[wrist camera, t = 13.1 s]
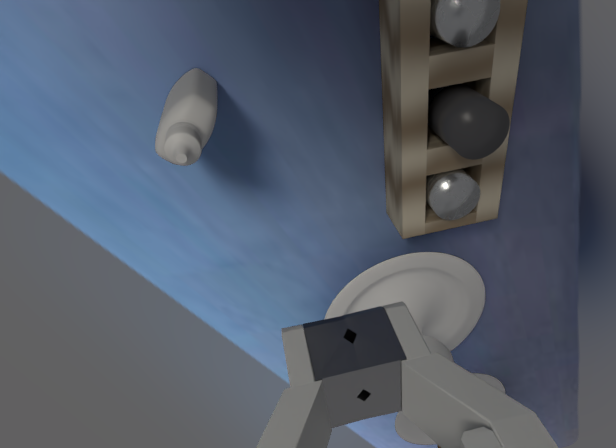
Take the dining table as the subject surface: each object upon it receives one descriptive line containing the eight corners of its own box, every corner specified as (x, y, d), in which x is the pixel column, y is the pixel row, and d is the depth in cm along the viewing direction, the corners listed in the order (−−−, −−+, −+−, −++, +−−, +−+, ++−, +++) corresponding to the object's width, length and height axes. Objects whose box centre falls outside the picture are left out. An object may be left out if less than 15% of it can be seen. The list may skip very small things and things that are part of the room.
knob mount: (377, -42, 34) (399, -38, 30) (498, -63, 35) (536, -62, 31) (386, 212, 48) (402, 239, 44) (473, 194, 48) (497, 218, 44)
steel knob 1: (414, -22, 34) (441, -16, 30) (469, -32, 35) (503, -27, 31) (414, 39, 37) (439, 52, 33) (465, 30, 37) (496, 41, 33)
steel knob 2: (413, 159, 44) (434, 183, 39) (457, 150, 44) (482, 173, 40) (413, 198, 46) (432, 224, 42) (454, 189, 46) (478, 214, 42)
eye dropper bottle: (231, 107, 38) (237, 167, 29) (175, 135, 39) (161, 203, 29) (206, 61, 36) (203, 108, 26) (146, 90, 36) (120, 148, 27)
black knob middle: (428, 89, 36) (455, 109, 32) (480, 79, 37) (513, 98, 33) (426, 140, 39) (451, 164, 35) (475, 130, 39) (505, 153, 35)
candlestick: (257, 313, 53) (290, 607, 30) (439, 205, 48) (642, 449, 26) (339, 389, 64) (409, 645, 41) (492, 307, 60) (665, 540, 37)
